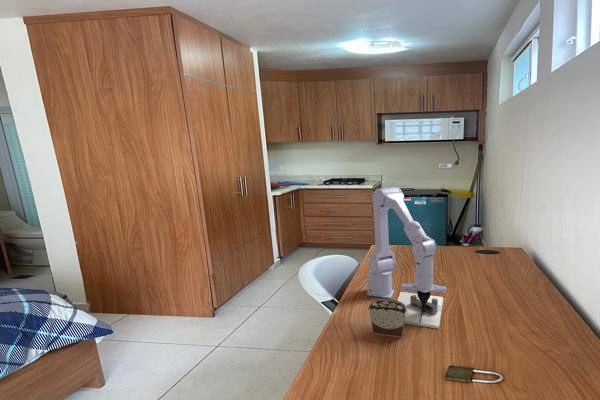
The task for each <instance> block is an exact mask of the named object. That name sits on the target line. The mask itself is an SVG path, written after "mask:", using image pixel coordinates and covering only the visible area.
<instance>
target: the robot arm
mask: <svg viewBox="0 0 600 400" xmlns="http://www.w3.org/2000/svg"><path fill="white" fill-rule="evenodd" d="M404 199H405V194H404V193H403V191H402V190H401V188H400V187H398V186H393V187H386V188H376V189H375V190H374V191H373V192H372V208H373V222H374V223H373V226H374V227H373V228H374V245H375V249H374V250H373V251H372V252H371V253H370V254H369V261H368V267H369V271H368V274H367V279H366V280H367V281H366V282H367V285H366V286H367V293H366V296H369V297H377V298H383V299H391V298H392V296H393V294H394V292H395V290H394V289H392V282H393V281H392V279H393V278H392V274H393V273H394V270H396V267H397V261H396V258H395V253H394V252H393V251H392V250H391V249H390V242H389V241H390V240H389V239H390V237H389V219H388V217H389V216H388V211H389V210H390V209H393V210H394V212H395V214H396V215H397V216H398V218H399V220H401V222H402V224H403V225H404V226H403V231H404V233H405V234H406V236H407V238H408V239H409V241H410V243H411V245H412V247H411V252H412V255H413V257H414V259H413V260H414V262H415V277H414V278H415V281H414V283H413V282H412V283H402V284H401V286H402V287H401V292H406V291H408V292H411V291H412V292H417V293H416V294H418V297H419V299H420V301H421V304H422V305H421V311H422V312H425V305H426V303H427V301H428V299H429V298H430V296H431V293H437V294H438V293H439V294H443V295H446V294H447V289H448V288H447V286H445V285H437V284H434V256H435V255H436V254H437V253H438V245H437V243H436V240H435V239H433V238H431V237H430V236H428V235H427V234H426V232H425V230H424V229H423V227H422V225H421V224H420V223H419V221H416V220H414V218H413V217H412V215H411V214H410V211H409V209H408V206H407V205H406V203H405V202H404V201H405V200H404Z"/></svg>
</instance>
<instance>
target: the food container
mask: <svg viewBox="0 0 600 400" xmlns="http://www.w3.org/2000/svg"><path fill="white" fill-rule="evenodd" d="M367 310H368V311H369V313H370V314H369V315H370V321H371V322H370V323H371V330H372V331H371V333H372V334H374V335H378V336H388V337H393V338H401V339H403V337H404V329H405V323H404V322H405V314H406V312H407V308H406V306H405V305H404V304H403V303H402V302H400V301H397V299H391V298H380V299H379V298H377V299H375V300H374V299H373V300H372V301H370V303H369V304H368V307H367ZM407 314H408V313H407Z"/></svg>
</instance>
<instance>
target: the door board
mask: <svg viewBox="0 0 600 400" xmlns="http://www.w3.org/2000/svg"><path fill="white" fill-rule="evenodd" d="M412 295H417V296H418V294H417V293H414V292H413V293H412V292H406V291H400V293H399V295H398V297H397V299H396V300H397V301H400V302H402V303H403V304H404V305H405V306H406V308H407V312H406V314H405V322H404V324H407V325H413V326H419V327H420V326H421V327H427V328H432V329H438V330H439V329H440V323H441V316H442V310H443V303H444V296H437V295H430V298H429V299H428V301H427V302H430V303H432V304H434V305H436V306H437V313H436V314H431V313H428V312H426V311H425V312H422V311H421V309H420V308H418V307H415V306H412V305H410V296H412ZM407 313H408V314H407Z"/></svg>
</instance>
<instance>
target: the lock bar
mask: <svg viewBox="0 0 600 400" xmlns="http://www.w3.org/2000/svg"><path fill="white" fill-rule="evenodd" d="M410 305H412V306H415V307H418V308H420V309H421V305H422V304H421V301H420V299H419V297H418V296H417V295H412V296H410ZM425 311H426V312H428V313H431V314H436V313H437V306H436V305H434V304H432V303H430V302H427V303H426V305H425Z"/></svg>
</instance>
